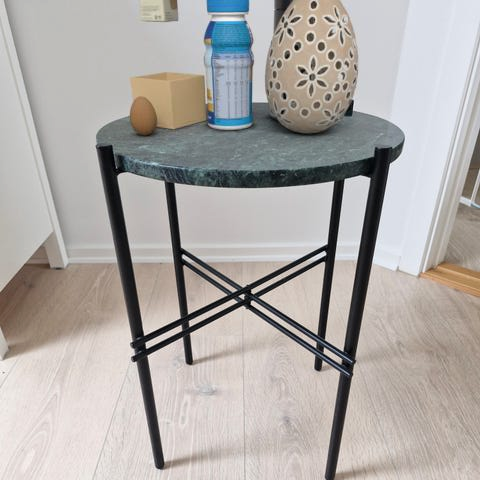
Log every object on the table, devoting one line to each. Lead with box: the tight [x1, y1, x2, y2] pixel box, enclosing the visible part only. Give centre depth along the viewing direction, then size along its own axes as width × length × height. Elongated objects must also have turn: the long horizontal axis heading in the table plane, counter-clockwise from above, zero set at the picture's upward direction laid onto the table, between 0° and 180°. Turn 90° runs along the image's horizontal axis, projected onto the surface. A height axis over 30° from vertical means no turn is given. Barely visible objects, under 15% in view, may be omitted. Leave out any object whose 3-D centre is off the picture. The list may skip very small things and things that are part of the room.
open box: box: [129, 71, 207, 130], centre depth 83 cm, size 9×9×8 cm
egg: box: [129, 96, 157, 137], centre depth 74 cm, size 4×4×6 cm
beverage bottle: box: [203, 0, 255, 131], centre depth 76 cm, size 8×8×20 cm
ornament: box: [264, 0, 359, 135], centre depth 71 cm, size 15×15×20 cm
